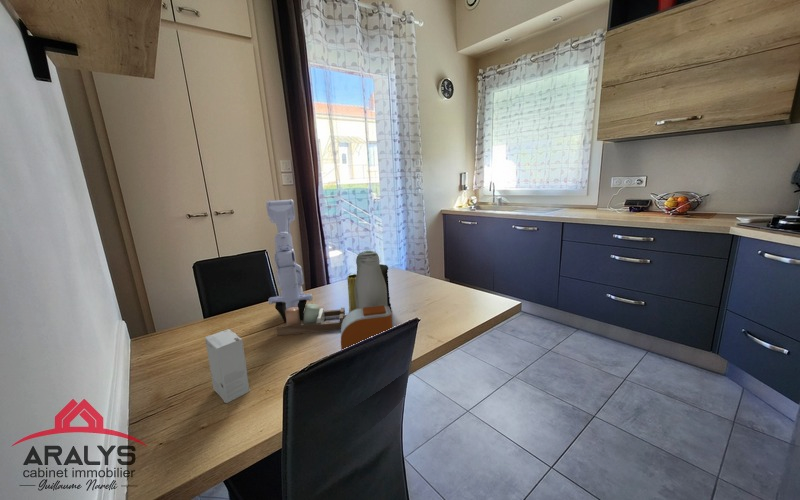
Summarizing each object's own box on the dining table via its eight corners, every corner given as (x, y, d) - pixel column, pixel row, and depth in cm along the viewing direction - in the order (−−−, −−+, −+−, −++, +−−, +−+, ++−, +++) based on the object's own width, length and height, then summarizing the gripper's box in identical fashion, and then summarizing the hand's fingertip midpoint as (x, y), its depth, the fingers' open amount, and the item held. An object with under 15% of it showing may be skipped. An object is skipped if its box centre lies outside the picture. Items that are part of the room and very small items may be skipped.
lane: (285, 320, 113) (284, 311, 112) (345, 314, 116) (344, 306, 115) (277, 335, 102) (275, 325, 101) (343, 328, 104) (342, 319, 104)
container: (364, 314, 115) (360, 269, 111) (374, 305, 123) (371, 263, 119) (385, 317, 111) (382, 271, 107) (395, 308, 120) (392, 264, 115)
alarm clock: (390, 341, 95) (388, 301, 92) (395, 356, 87) (392, 313, 84) (343, 348, 92) (339, 307, 89) (342, 364, 84) (338, 319, 81)
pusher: (321, 318, 113) (320, 308, 112) (359, 314, 115) (358, 305, 114) (318, 328, 105) (316, 318, 104) (359, 324, 106) (358, 314, 106)
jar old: (303, 319, 110) (306, 302, 109) (317, 321, 111) (320, 305, 110) (301, 325, 106) (304, 308, 104) (315, 327, 107) (318, 310, 105)
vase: (361, 314, 116) (358, 278, 112) (346, 313, 117) (343, 278, 114) (366, 307, 121) (363, 273, 118) (352, 306, 123) (349, 273, 119)
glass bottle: (375, 322, 108) (369, 246, 102) (394, 331, 101) (390, 250, 95) (352, 332, 102) (345, 252, 95) (371, 343, 94) (365, 256, 88)
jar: (288, 324, 110) (286, 307, 109) (302, 322, 111) (300, 306, 109) (286, 330, 105) (283, 313, 104) (300, 328, 106) (298, 311, 104)
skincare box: (213, 390, 76) (201, 337, 72) (238, 378, 80) (228, 327, 77) (226, 405, 70) (214, 348, 67) (252, 391, 75) (242, 337, 72)
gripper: (263, 290, 100) (269, 327, 103) (308, 286, 101) (312, 323, 105) (269, 283, 107) (275, 318, 110) (311, 280, 108) (315, 314, 111)
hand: (293, 320), depth 108 cm, fingers closed on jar, 5 cm apart
